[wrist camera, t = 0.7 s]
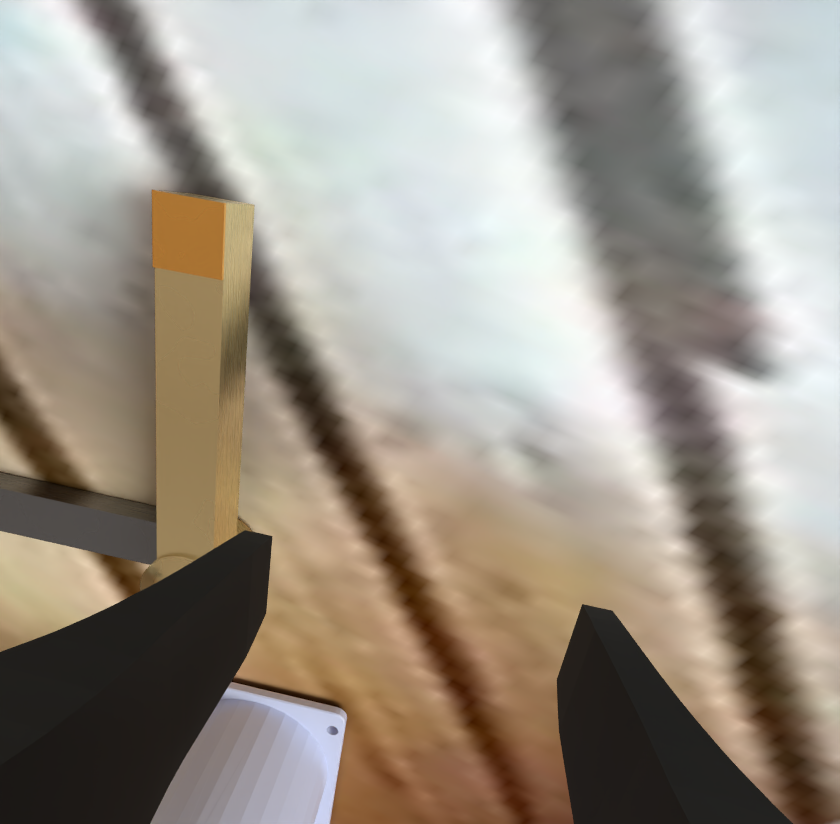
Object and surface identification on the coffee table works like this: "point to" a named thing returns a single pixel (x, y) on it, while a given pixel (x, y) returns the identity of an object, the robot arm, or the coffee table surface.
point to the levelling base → (78, 518)
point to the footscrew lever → (198, 372)
